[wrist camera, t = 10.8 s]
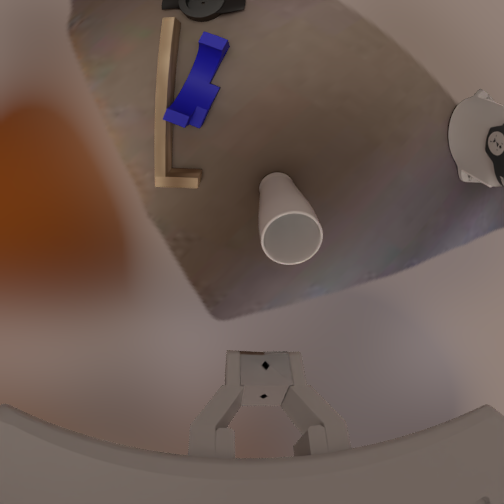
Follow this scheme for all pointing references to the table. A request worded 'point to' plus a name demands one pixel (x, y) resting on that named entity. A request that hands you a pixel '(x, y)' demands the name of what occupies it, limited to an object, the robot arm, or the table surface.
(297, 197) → the drinking glass
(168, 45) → the bar
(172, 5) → the black winged round fixture
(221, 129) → the table surface
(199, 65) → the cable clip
